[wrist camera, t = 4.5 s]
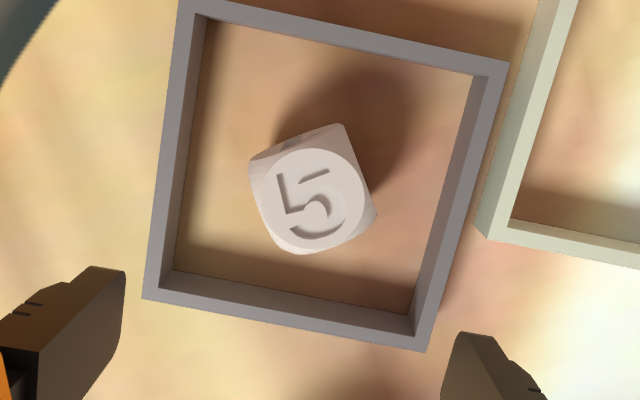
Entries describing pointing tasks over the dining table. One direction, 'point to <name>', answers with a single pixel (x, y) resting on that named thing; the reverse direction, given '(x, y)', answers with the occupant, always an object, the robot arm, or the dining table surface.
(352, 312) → the gray frame
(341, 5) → the dining table surface
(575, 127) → the dining table surface
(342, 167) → the die
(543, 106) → the sage frame
